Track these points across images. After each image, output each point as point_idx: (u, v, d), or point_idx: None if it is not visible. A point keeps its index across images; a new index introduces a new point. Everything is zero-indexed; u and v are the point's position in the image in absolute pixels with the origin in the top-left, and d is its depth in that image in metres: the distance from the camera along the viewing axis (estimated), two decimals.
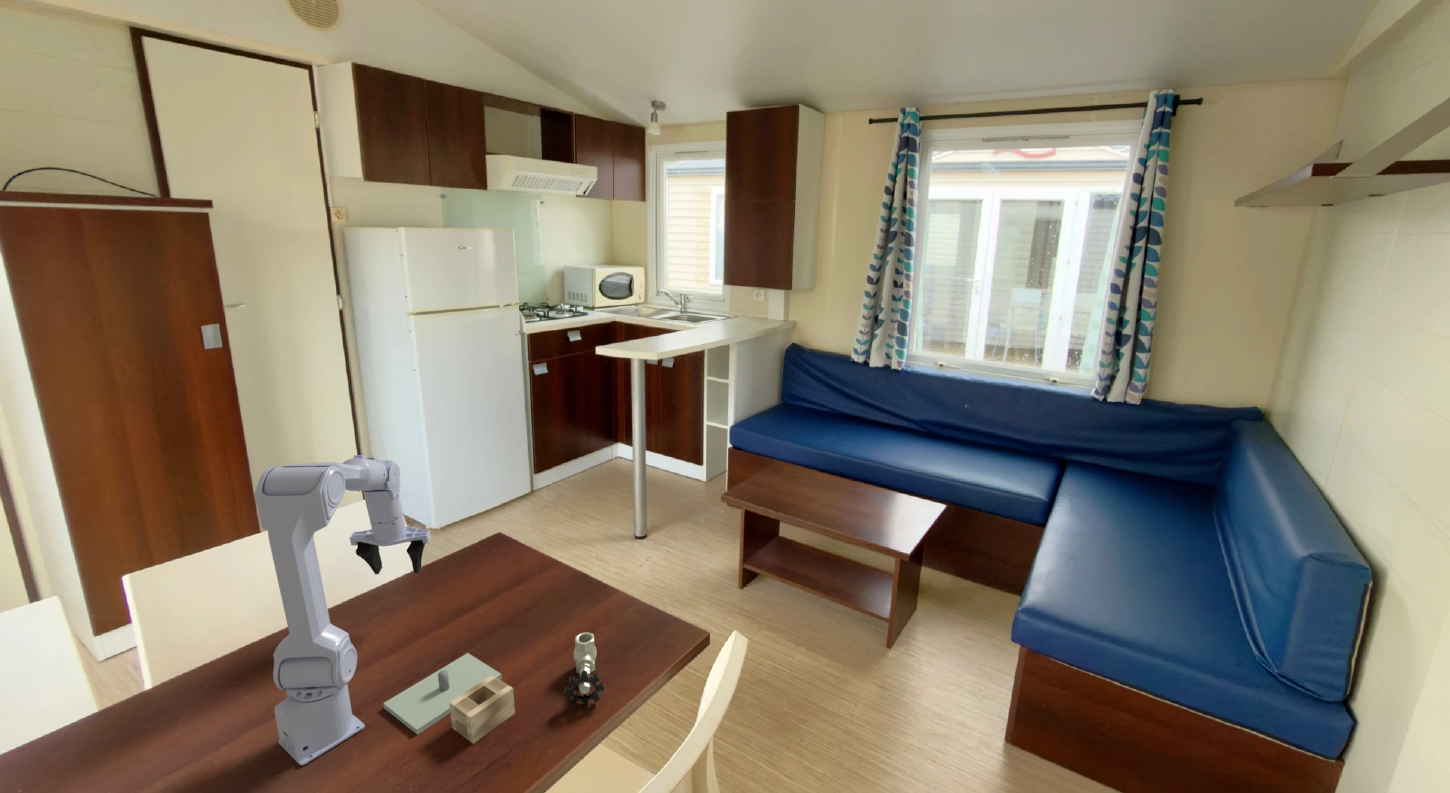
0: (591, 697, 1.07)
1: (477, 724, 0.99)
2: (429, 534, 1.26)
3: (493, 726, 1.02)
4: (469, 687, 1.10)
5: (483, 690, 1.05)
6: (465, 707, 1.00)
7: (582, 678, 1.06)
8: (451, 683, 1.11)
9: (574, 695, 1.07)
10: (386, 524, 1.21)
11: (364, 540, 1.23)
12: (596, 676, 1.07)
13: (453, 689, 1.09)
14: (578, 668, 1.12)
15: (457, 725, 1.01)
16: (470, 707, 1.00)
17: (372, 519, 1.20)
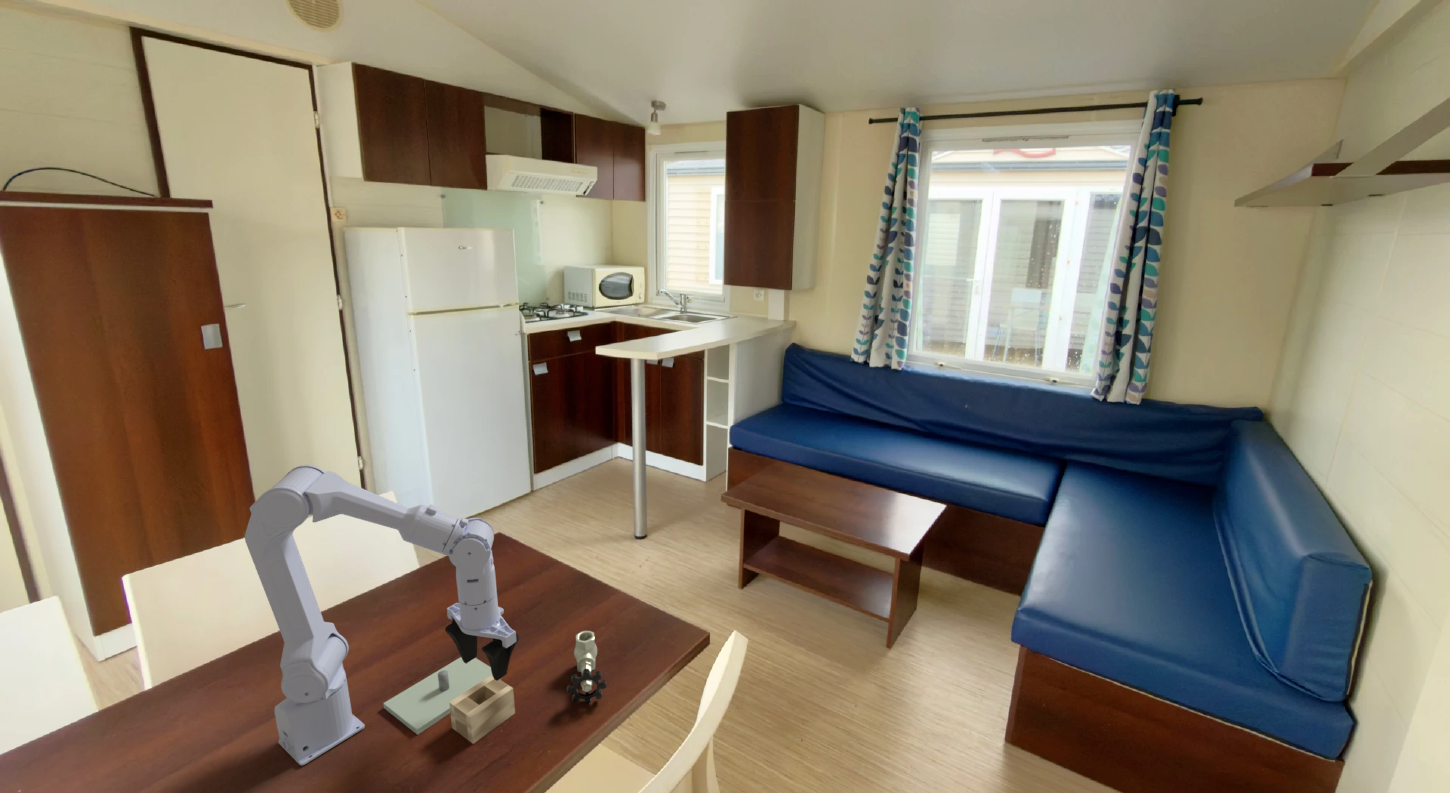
0: (593, 695, 1.08)
1: (477, 724, 0.99)
2: (513, 637, 0.98)
3: (493, 726, 1.02)
4: (469, 687, 1.10)
5: (483, 690, 1.05)
6: (465, 707, 1.00)
7: (584, 676, 1.06)
8: (451, 683, 1.11)
9: (576, 693, 1.07)
10: (467, 607, 0.98)
11: (454, 617, 1.02)
12: (598, 674, 1.07)
13: (453, 689, 1.09)
14: (579, 666, 1.13)
15: (457, 725, 1.01)
16: (470, 707, 1.00)
17: None
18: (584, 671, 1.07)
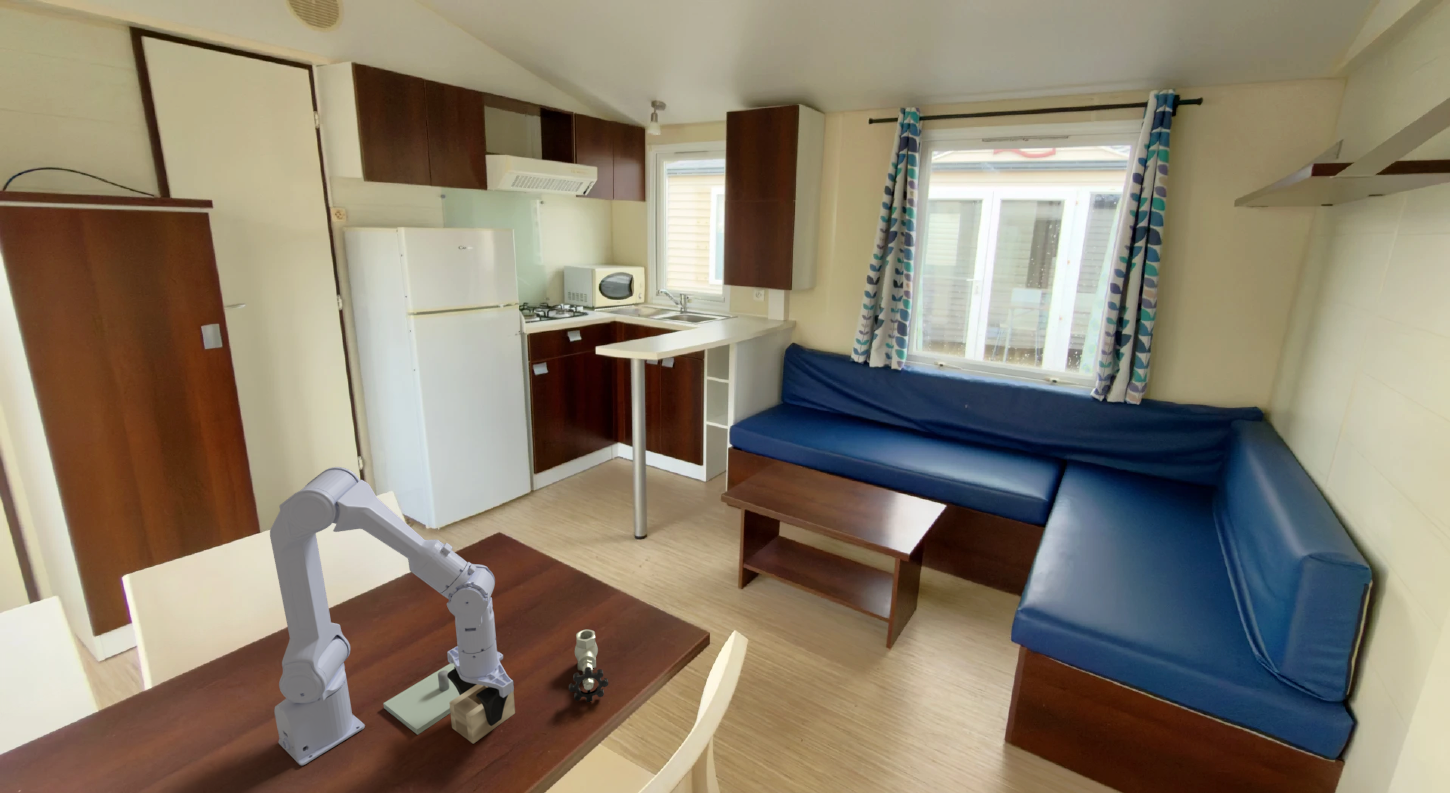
0: (595, 693, 1.08)
1: (477, 724, 0.99)
2: (510, 686, 0.98)
3: (493, 726, 1.02)
4: None
5: None
6: (465, 707, 1.00)
7: (586, 674, 1.07)
8: (451, 683, 1.11)
9: (578, 691, 1.08)
10: (465, 654, 0.98)
11: (454, 662, 1.02)
12: (600, 672, 1.08)
13: (453, 689, 1.09)
14: (580, 665, 1.13)
15: (457, 725, 1.01)
16: (470, 707, 1.00)
17: None
18: (586, 669, 1.07)
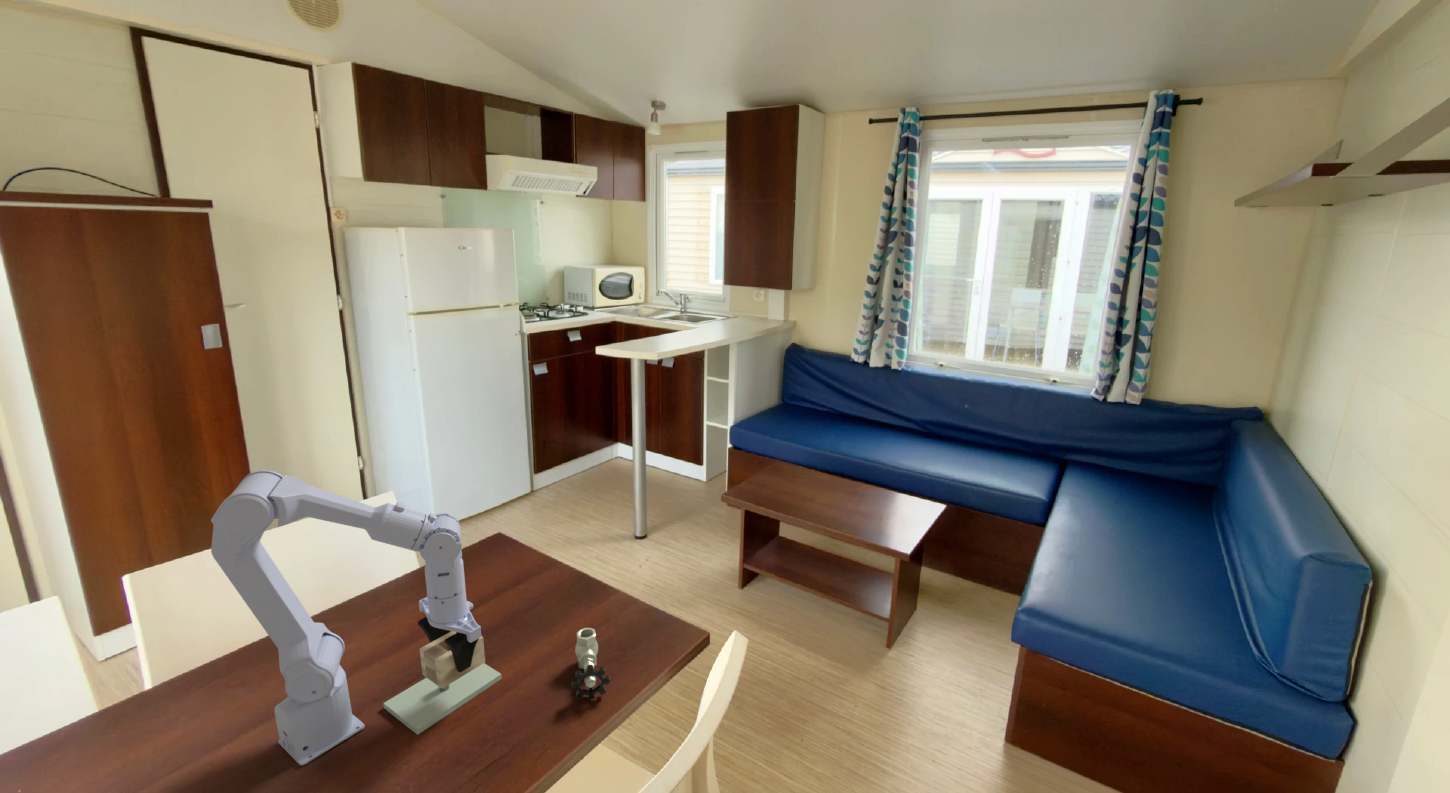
0: (597, 690, 1.09)
1: (446, 669, 1.01)
2: (477, 632, 1.00)
3: (462, 673, 1.04)
4: (469, 687, 1.10)
5: None
6: (434, 653, 1.02)
7: (588, 672, 1.07)
8: (451, 683, 1.11)
9: (580, 689, 1.08)
10: (434, 600, 0.99)
11: (424, 610, 1.04)
12: (602, 669, 1.08)
13: (453, 689, 1.09)
14: (581, 663, 1.14)
15: (427, 670, 1.03)
16: (439, 653, 1.02)
17: None
18: (588, 667, 1.08)
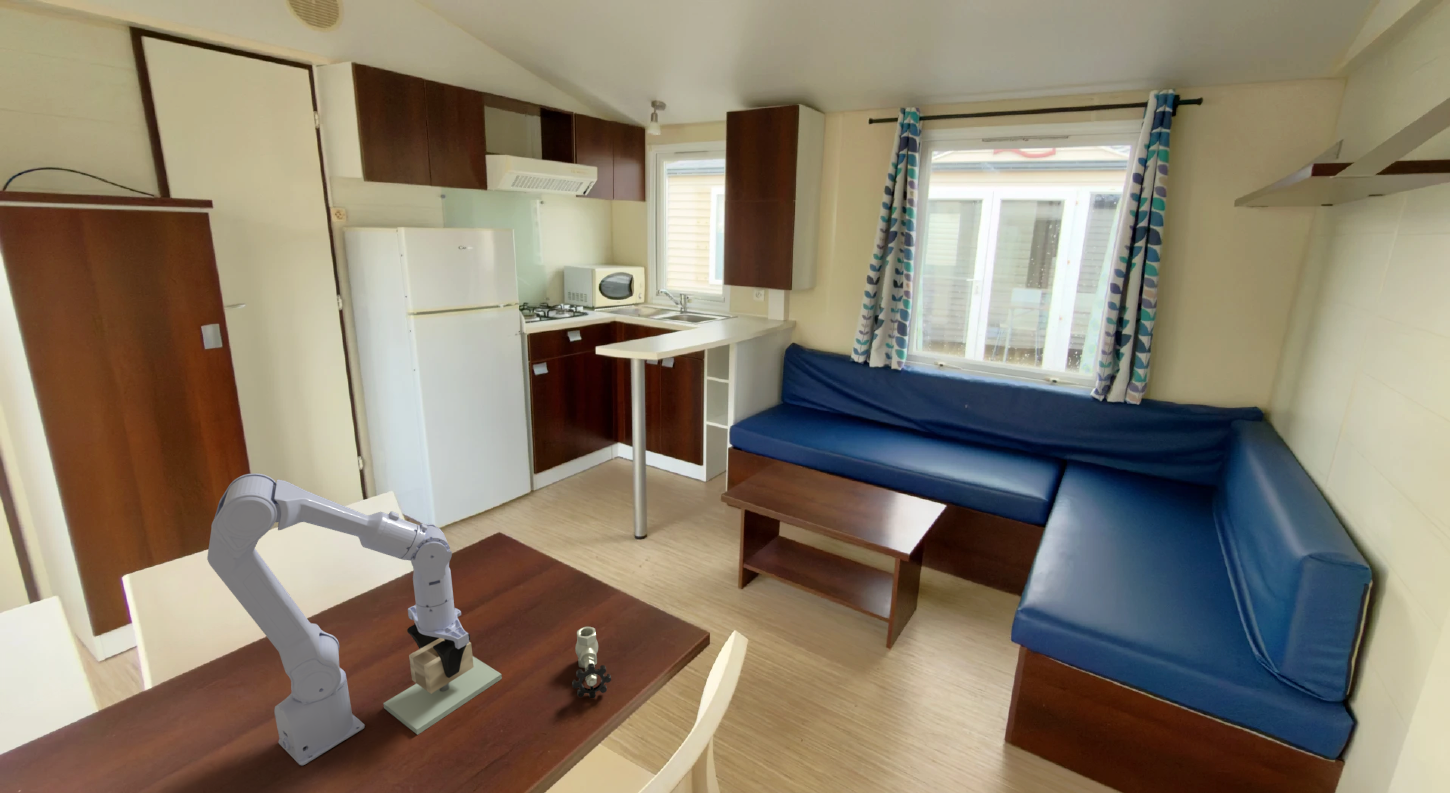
0: (598, 689, 1.09)
1: (435, 675, 1.04)
2: (465, 638, 1.03)
3: (451, 678, 1.07)
4: (469, 687, 1.10)
5: None
6: (423, 659, 1.05)
7: (589, 670, 1.08)
8: (451, 683, 1.11)
9: (581, 688, 1.08)
10: (422, 608, 1.02)
11: (413, 617, 1.07)
12: (603, 668, 1.09)
13: (453, 689, 1.09)
14: (582, 662, 1.14)
15: (416, 676, 1.06)
16: (428, 659, 1.05)
17: None
18: (589, 666, 1.08)
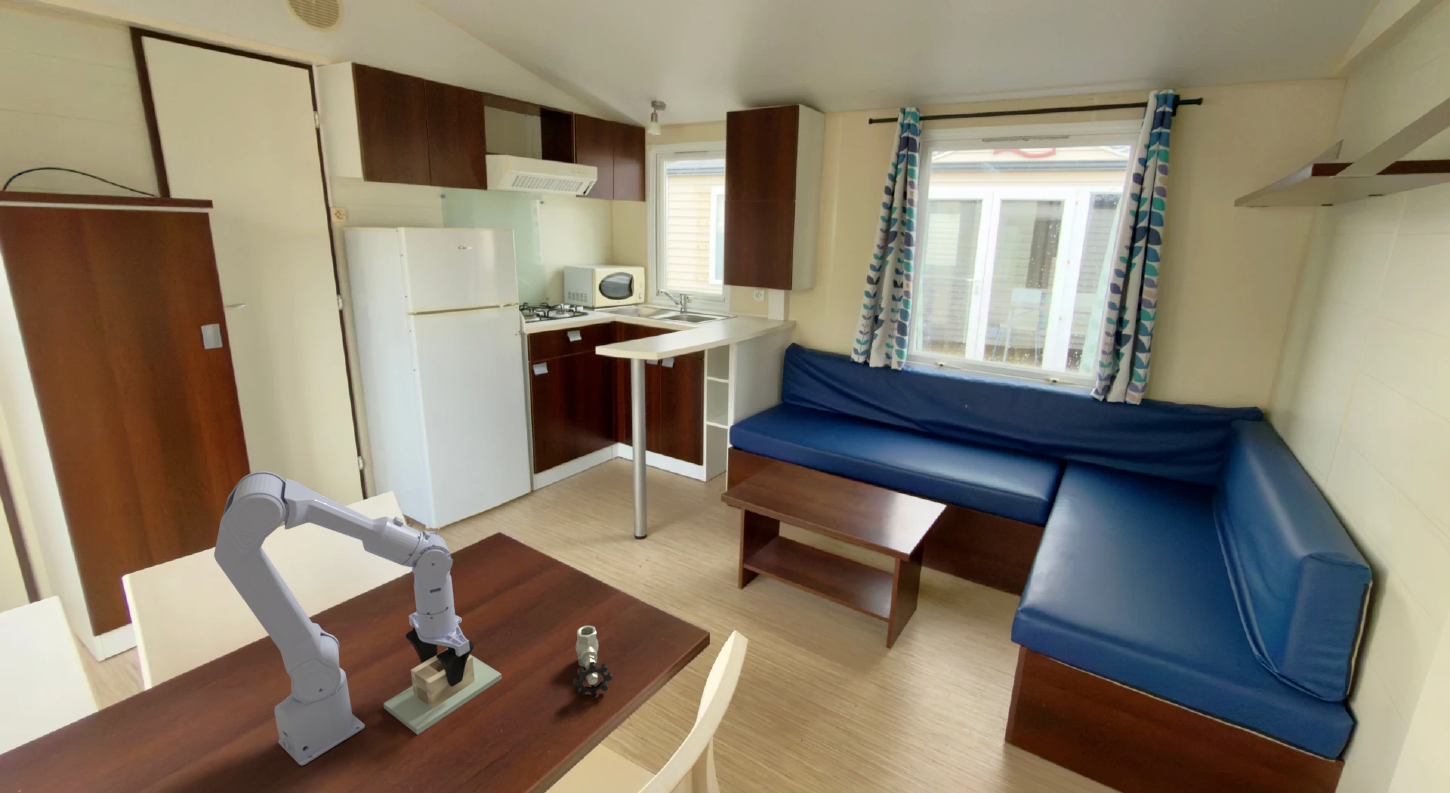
0: (599, 687, 1.10)
1: (436, 690, 1.05)
2: (466, 646, 1.03)
3: (453, 693, 1.08)
4: (469, 687, 1.10)
5: None
6: (425, 674, 1.06)
7: (591, 669, 1.08)
8: None
9: (583, 686, 1.09)
10: (423, 616, 1.03)
11: (414, 624, 1.07)
12: (604, 666, 1.09)
13: None
14: (582, 660, 1.14)
15: (418, 691, 1.07)
16: (430, 674, 1.06)
17: None
18: (590, 664, 1.08)
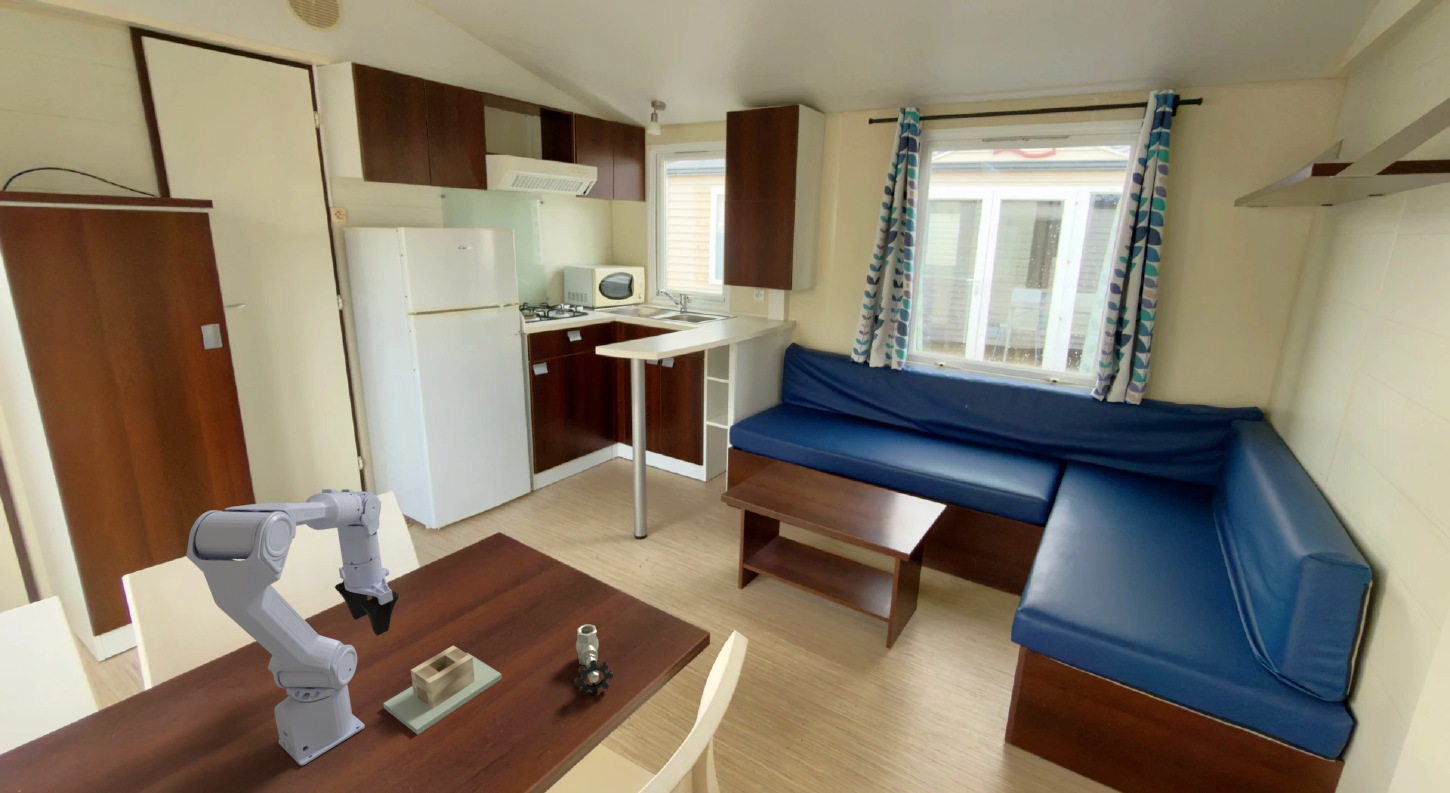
0: (600, 685, 1.10)
1: (436, 690, 1.05)
2: (388, 595, 1.07)
3: (453, 693, 1.08)
4: (469, 687, 1.10)
5: (444, 659, 1.11)
6: (425, 674, 1.06)
7: (592, 667, 1.09)
8: None
9: (584, 684, 1.09)
10: (348, 566, 1.07)
11: (342, 576, 1.12)
12: (605, 664, 1.10)
13: None
14: (583, 659, 1.15)
15: (418, 691, 1.07)
16: (430, 674, 1.06)
17: (344, 559, 1.07)
18: (591, 662, 1.09)
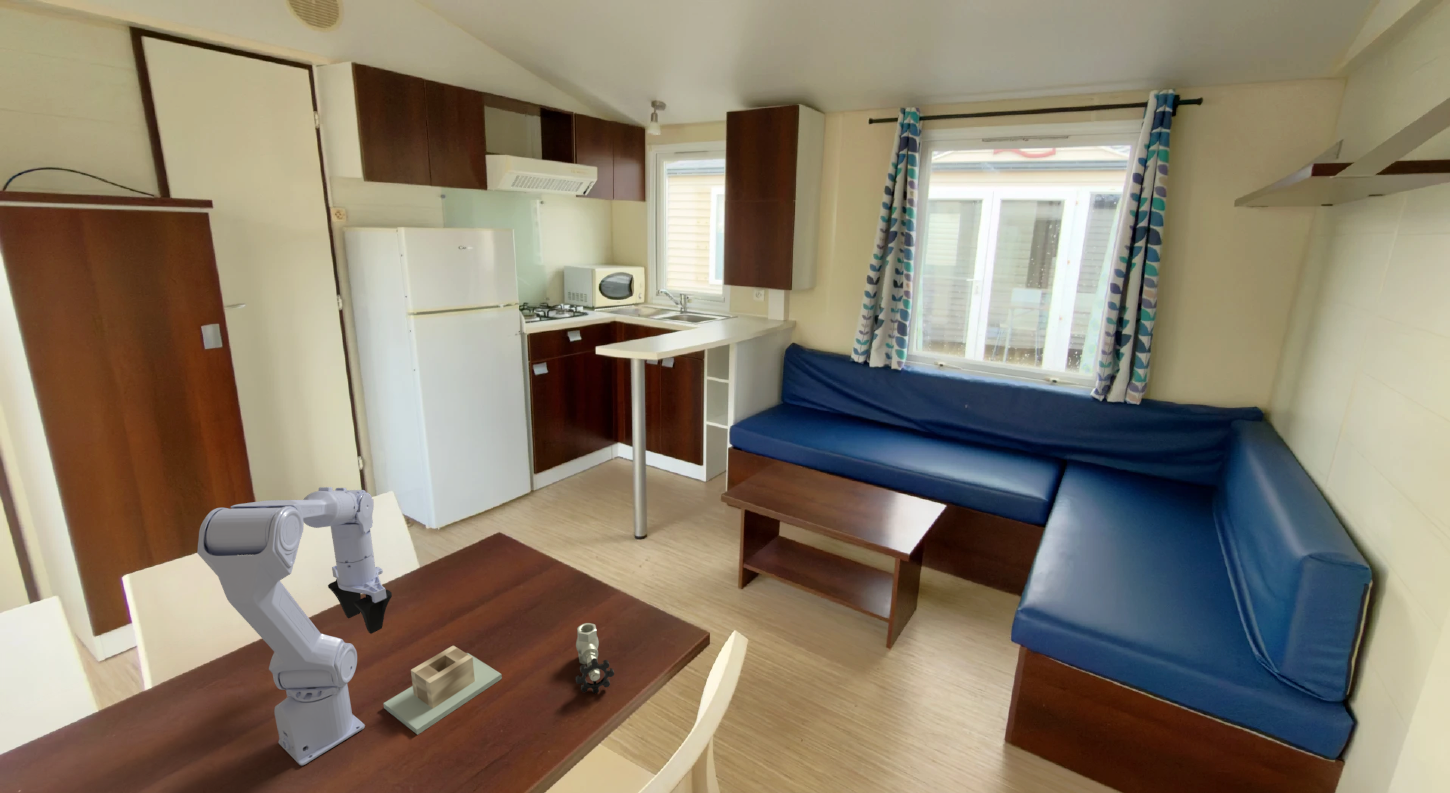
0: (601, 683, 1.11)
1: (436, 690, 1.05)
2: (382, 593, 1.08)
3: (453, 693, 1.08)
4: (469, 687, 1.10)
5: (444, 659, 1.11)
6: (425, 674, 1.06)
7: (593, 665, 1.09)
8: None
9: (585, 683, 1.10)
10: (341, 564, 1.07)
11: (336, 575, 1.12)
12: (606, 662, 1.10)
13: None
14: (583, 658, 1.15)
15: (418, 691, 1.07)
16: (430, 674, 1.06)
17: (338, 558, 1.07)
18: (592, 661, 1.09)
